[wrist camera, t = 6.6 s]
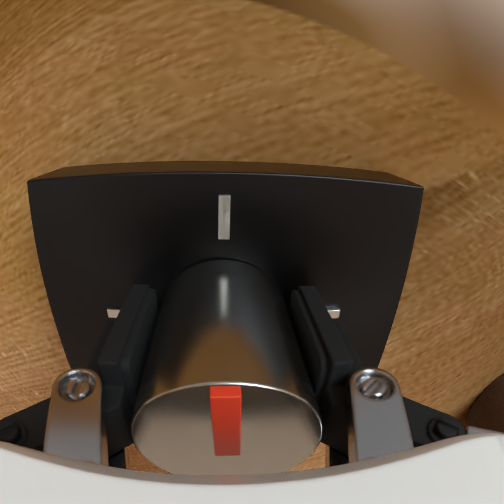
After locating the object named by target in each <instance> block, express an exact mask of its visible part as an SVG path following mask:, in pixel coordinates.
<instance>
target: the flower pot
mask: <svg viewBox="0 0 504 504" xmlns="http://www.w3.org/2000/svg"><path fill="white" fill-rule="evenodd" d="M467 423H468V426H472V427H477V428H482V429H487V430H492V431H497V432H502V433H504V374H503V375H501V376H500V377H499V378H497V379H496V380H495V381H494V382H493V383H492V384H491V385H489V386H488V387H487V388H486V390H485V391H484V392H483V393H482V394H481V395H480V396H479V397H478V399H477V400H476V401H475V402H474V404H473V405H472V407H471V409H470V411H469V412H468V415H467Z"/></svg>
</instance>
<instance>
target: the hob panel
mask: <svg viewBox="0 0 504 504" xmlns="http://www.w3.org/2000/svg"><path fill="white" fill-rule="evenodd" d="M27 185H28V195H29V203H30V211H31V218H32V225H33V231H34V237H35V242H36V248H37V253H38V258H39V263H40V267H41V272H42V276H43V280H44V284H45V288H46V292H47V296H48V300H49V303H50V307H51V310H52V314H53V317H54V321H55V324H56V327H57V330H58V333H59V336H60V339H61V342H62V345H63V348H64V351H65V354H66V357H67V359H68V362H69V365H70V367H71V369H72V368H86V367H87V365H88V362H89V360H90V358H91V356H92V354H93V352H94V349H95V347H96V345H97V343H98V341H99V339H100V337H101V335H102V333H103V330H104V328H105V326H106V324H107V323H108V321H110V320H116V318H117V316H118V314H119V312H120V309H121V307H122V305H123V303H124V301H125V299H126V297H127V295H128V293H129V291H130V289H131V287H132V285H133V284H142V285H149V286H150V289H155V291H156V297H157V306H158V315H159V312H160V308H161V305H162V302H163V298H164V295H165V293H166V291H167V289H168V287H169V286H170V284H171V283H172V282H173V280H174V279H175V278H176V277H177V276H178V275H180V274H181V273H182V272H184V271H185V270H187V269H188V268H190V267H192V266H194V265H197V264H200V263H203V262H206V261H212V260H234V261H240V262H243V263H246V264H249V265H252V266H254V267H256V268H258V269H259V270H261V271H263V272H264V273H265V274H267V275H268V276H269V277H270V278H271V279H272V280H273V281H274V282H275V284H276V285H277V287H278V288H279V290H280V292H281V294H282V296H283V299H284V302H285V305H286V309H287V312H288V315H289V308H290V300H291V293H292V290H297V287H298V286H315V287H316V289H317V291H318V293H319V295H320V297H321V299H322V301H323V302H324V304H325V306H326V308H327V310H328V312H329V314H330V316H331V318H332V320H333V321H338V322H339V323H340V324H341V325H342V327H343V329H344V331H345V333H346V335H347V337H348V338H349V340H350V342H351V344H352V346H353V348H354V350H355V352H356V354H357V355H358V357H359V359H360V361H361V363H362V365H363V367H364V368H369V367H373V368H378V365H379V362H380V359H381V357H382V354H383V351H384V348H385V345H386V342H387V339H388V336H389V333H390V330H391V327H392V324H393V320H394V317H395V314H396V310H397V307H398V303H399V300H400V296H401V293H402V289H403V285H404V282H405V278H406V274H407V270H408V266H409V261H410V257H411V253H412V248H413V244H414V239H415V234H416V229H417V224H418V219H419V214H420V208H421V202H422V196H423V190H424V188H423V186H420V185H418V184H415V183H413V182H410V181H408V180H405V179H403V178H400V177H397V176H395V175H392V174H389V173H386V172H378V171H369V170H360V169H351V168H340V167H329V166H316V165H302V164H286V163H266V162H236V161H163V162H134V163H114V164H99V165H85V166H73V167H63V168H61V169H58V170H55V171H52V172H49V173H47V174H44V175H41V176H39V177H36V178H33V179H31V180H29V181H28V182H27Z"/></svg>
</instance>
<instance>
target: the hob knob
mask: <svg viewBox="0 0 504 504" xmlns="http://www.w3.org/2000/svg"><path fill="white" fill-rule="evenodd" d="M130 432H131V436H132V439H133V442H134V444H135V446H136V447H137V449H138V450H139V451H140V453H141V454H142V455H143V456H144V457H145V458H146V459H148V460H149V461H150V462H152V463H153V464H154V465H156V466H158V467H159V468H161V469H163V470H165V471H167V472H169V473H172V474H183V475H212V476H227V475H258V474H273V473H283V472H285V471H288V470H290V469H291V468H293V467H295V466H297V465H298V464H300V463H301V462H303V461H304V460H305V459H306V458H308V457H309V456H310V455H311V454H312V453H313V452H314V451H315V449H316V448H317V446H318V445H319V443H320V441H321V438H322V434H323V421H322V417H321V414H320V411H319V408H318V404H317V401H316V398H315V395H314V392H313V389H312V386H311V382H310V379H309V376H308V373H307V370H306V367H305V364H304V361H303V358H302V354H301V351H300V348H299V345H298V342H297V339H296V336H295V333H294V330H293V327H292V324H291V321H290V318H289V315H288V312H287V309H286V305H285V302H284V299H283V296H282V294H281V292H280V290H279V288H278V287H277V285H276V284H275V282H274V281H273V280H272V279H271V278H270V277H269V276H268V275H267V274H265V273H264V272H263V271H261V270H259V269H258V268H256V267H254V266H252V265H249V264H246V263H243V262H240V261H234V260H212V261H206V262H203V263H200V264H197V265H194V266H192V267H190V268H188V269H187V270H185V271H184V272H182V273H181V274H180V275H178V276H177V277H176V278H175V279H174V280H173V282H172V283H171V284H170V286H169V287H168V289H167V291H166V293H165V295H164V298H163V302H162V305H161V308H160V312H159V315H158V318H157V322H156V325H155V329H154V333H153V336H152V340H151V343H150V347H149V351H148V354H147V358H146V362H145V366H144V370H143V373H142V377H141V381H140V385H139V389H138V394H137V398H136V402H135V406H134V410H133V415H132V419H131V424H130Z"/></svg>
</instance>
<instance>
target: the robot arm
mask: <svg viewBox="0 0 504 504" xmlns="http://www.w3.org/2000/svg"><path fill="white" fill-rule="evenodd" d="M157 318H158V306H157V297H156V291H155V289H150V286H149V285H142V284H133V285H132V287H131V289H130V291H129V293H128V295H127V297H126V299H125V301H124V303H123V305H122V307H121V309H120V312H119V314H118V316H117V318H116V320H110V321H108V323H107V324H106V326H105V328H104V330H103V333H102V335H101V337H100V339H99V341H98V343H97V345H96V347H95V349H94V352H93V354H92V356H91V358H90V360H89V362H88V365H87V367H86V368H72V369H69V370H67V371H65V372H63V373H62V374H60V375H59V376H58V377H57V378H56V380H55V382H54V384H53V388H52V393H51V397H50V398H48V399H46V400H43V401H41V402H39V403H37V404H35V405H32V406H30V407H28V408H26V409H24V410H21V411H19V412H17V413H15V414H12V415H10V416H8V417H5V418H3V419H2V420H0V504H504V433H502V432H497V431H492V430H487V429H482V428H477V427H472V426H467V427H466V429H464V427H463V426H462V424H461V423H460V422H459V421H458V420H457V419H456V418H454V417H452V416H450V415H448V414H445V413H443V412H440V411H437V410H435V409H432V408H430V407H427V406H425V405H422V404H420V403H417V402H415V401H412V400H410V399H408V398H405V397H403V396H402V394H401V391H400V387H399V384H398V382H397V380H396V379H395V377H394V376H393V375H392V374H390V373H388V372H387V371H385V370H382V369H379V368H373V367H369V368H364V367H363V365H362V363H361V361H360V359H359V357H358V355H357V354H356V352H355V350H354V348H353V346H352V344H351V342H350V340H349V338H348V337H347V335H346V333H345V331H344V329H343V327H342V325H341V324H340V323H339V322H338V321H333V320H332V318H331V316H330V314H329V312H328V310H327V308H326V306H325V304H324V302H323V301H322V299H321V297H320V295H319V293H318V291H317V289H316V287H315V286H298V287H297V290H292V293H291V300H290V308H289V318H290V321H291V324H292V327H293V330H294V333H295V336H296V339H297V342H298V345H299V348H300V351H301V354H302V358H303V361H304V364H305V367H306V370H307V373H308V376H309V379H310V382H311V386H312V389H313V392H314V395H315V398H316V401H317V404H318V408H319V411H320V414H321V417H322V421H323V434H322V438H321V441H320V442H322V443H324V444H326V460H325V468H318V469H311V470H303V471H294V472H284V473H273V474H258V475H227V476H212V475H183V474H168V473H156V472H146V471H137V470H130V465H129V456H128V448H127V446H129V445H131V444H132V443H134V442H133V439H132V436H131V432H130V424H131V419H132V415H133V410H134V406H135V402H136V398H137V394H138V389H139V385H140V381H141V377H142V373H143V370H144V366H145V362H146V358H147V354H148V351H149V347H150V343H151V340H152V336H153V333H154V329H155V325H156V322H157Z"/></svg>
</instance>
